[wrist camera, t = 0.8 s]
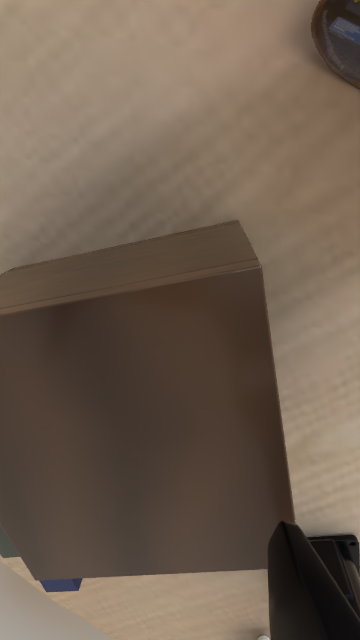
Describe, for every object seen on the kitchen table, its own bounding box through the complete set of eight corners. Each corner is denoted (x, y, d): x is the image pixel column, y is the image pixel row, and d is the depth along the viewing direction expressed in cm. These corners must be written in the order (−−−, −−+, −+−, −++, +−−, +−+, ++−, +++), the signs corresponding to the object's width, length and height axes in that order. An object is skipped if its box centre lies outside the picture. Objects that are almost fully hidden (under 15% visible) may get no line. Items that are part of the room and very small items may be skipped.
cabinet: (90, 450, 26) (35, 581, 18) (12, 268, 21) (-119, 337, 12) (270, 429, 24) (301, 568, 16) (238, 220, 19) (261, 264, 10)
